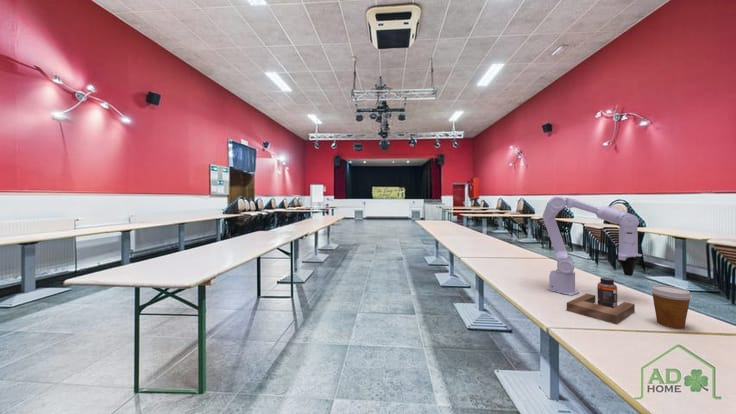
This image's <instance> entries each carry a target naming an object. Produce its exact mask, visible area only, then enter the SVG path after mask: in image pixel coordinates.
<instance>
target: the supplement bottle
mask: <svg viewBox="0 0 736 414" xmlns="http://www.w3.org/2000/svg"><path fill="white" fill-rule="evenodd" d="M596 295H597V296H596V297H597V304H598V305H602V306H606V307H610V308H615V307H616V306H618V286H617V285H616V284H615V280H614V278H611V277H605V276H604V277H603V276H602V277H600V281H599V282H598V283H597V294H596Z"/></svg>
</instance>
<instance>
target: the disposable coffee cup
mask: <svg viewBox="0 0 736 414" xmlns="http://www.w3.org/2000/svg"><path fill="white" fill-rule="evenodd" d="M650 292H651V294H652V298H653V299H652V301H653V305H654V311H655V312H654V313H655V317H656V323H657V324H659V325H661V326H664V327H667V328H670V329H675V330H682V329H683V330H684V329H685V326H686V321H687V316H688V312H689V306H690V300H691V299H692V298H693V295H692V294H691V292H690V291H689V290H687V289H685V288H680V287H675V286H670V285H659V284H657V285H652V287H651V288H650Z"/></svg>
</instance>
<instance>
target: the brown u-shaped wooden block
mask: <svg viewBox="0 0 736 414" xmlns="http://www.w3.org/2000/svg"><path fill="white" fill-rule="evenodd" d="M596 295H597V294H596ZM596 295H595V294H591V293H584V294H583V295H581V296H578V297H576V298H574V299H572V300H569V301H567V302H566V311H568V312H571V313H575V314H579V315H581V316H585V317H588V318H593V319H597V320H600V321H604V322H606V323H610V324H614V325H618V324H620V323H621V322H622V321H624V320H625V319H627V318H628V317H630V316H631V315H633V314H635V312H636V308H635V307H636V305H635V303H631V302H626V301H624V302H622V303H620V304H617V306H616V307H615V308H610V307H606V306H602V305H598V303H596V302H597V301H596V297H597V296H596Z"/></svg>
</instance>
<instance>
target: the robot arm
mask: <svg viewBox="0 0 736 414" xmlns="http://www.w3.org/2000/svg"><path fill="white" fill-rule="evenodd" d="M565 207H566V209H571V208H576V209H579V210H582V211H586V212H589V213H592V214H594V215H596V217H597V219H601V220H604V221H606V222H609V223H613V224H615V225H616V224H618V227H619V229H618V230H619V231H618V257H617V260H618V262H619V264H620V265H621V267H622V268H621V269H622V271H623V273H624V276H627V277H628V276H629V277H632V276H633V274H634V272H635V267H636V265H637V264H638V261H639V260H640V259H639V257H643V255H642V254H641V253H639V252H638V250H639V248H638V247H639V245H638V244H639V243H638V241H639V240H638V239H639V238H638V237H639V236H638V235H639V234H638V226H639V225H640V221H639V218H638V216H636V215H635V214H633V213H630V212H627V211H626V210H619V209H616V208H614V207H613V206H612V205H602V206H595V205H593V204H590V203H587V202H584V201H581V200H579V199H577V198H571V197H563V196H560V195H555V196H553V197H552V198H550V199H549V201H548V202H547V203H546V205H545V207H544V208H545V209H544V211H543V213H542V219H543V222H544V225H545V228H546V231H547V234H548V236H549V239H550V242H551V244H552V247H553V251H554V253H555V254H554V255H555V258H556V263H557V264H556V267H557V269H556V270H551V271H550V273H549V276H548V277H549V279H548V280H549V281H548V282H549V283H548V285H549V288H548V290H549V291H552V292H556V293H558V294H563V295H568V296H574V295H576V294H578V293H580V290H577V289H576V272H575V271H574V270H575V264H574V261H573V258H571V257H570V256H569V253H568V251H567V248H566V245H565V243H564V239H563V238H562V235H561V232H560V228H559V226H558V223H557V220H556V217H557V215H558V213H559V212H561V211H562V210H563V209H565Z"/></svg>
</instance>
